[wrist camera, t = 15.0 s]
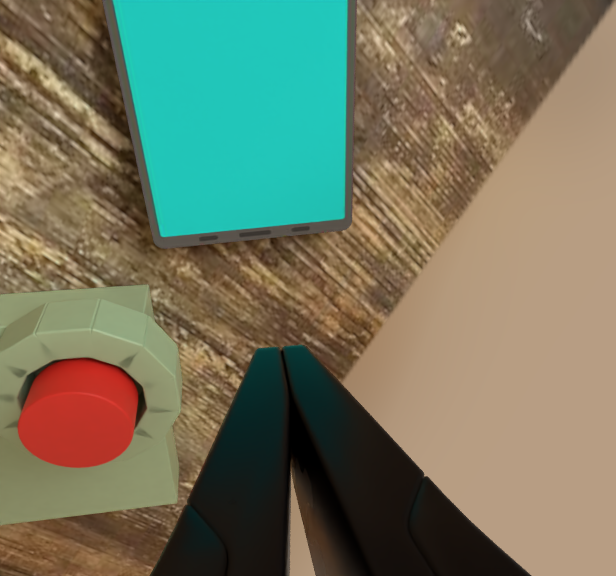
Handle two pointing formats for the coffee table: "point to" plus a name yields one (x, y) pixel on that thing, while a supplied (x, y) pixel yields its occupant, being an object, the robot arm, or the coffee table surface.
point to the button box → (107, 348)
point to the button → (79, 413)
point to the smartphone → (239, 114)
